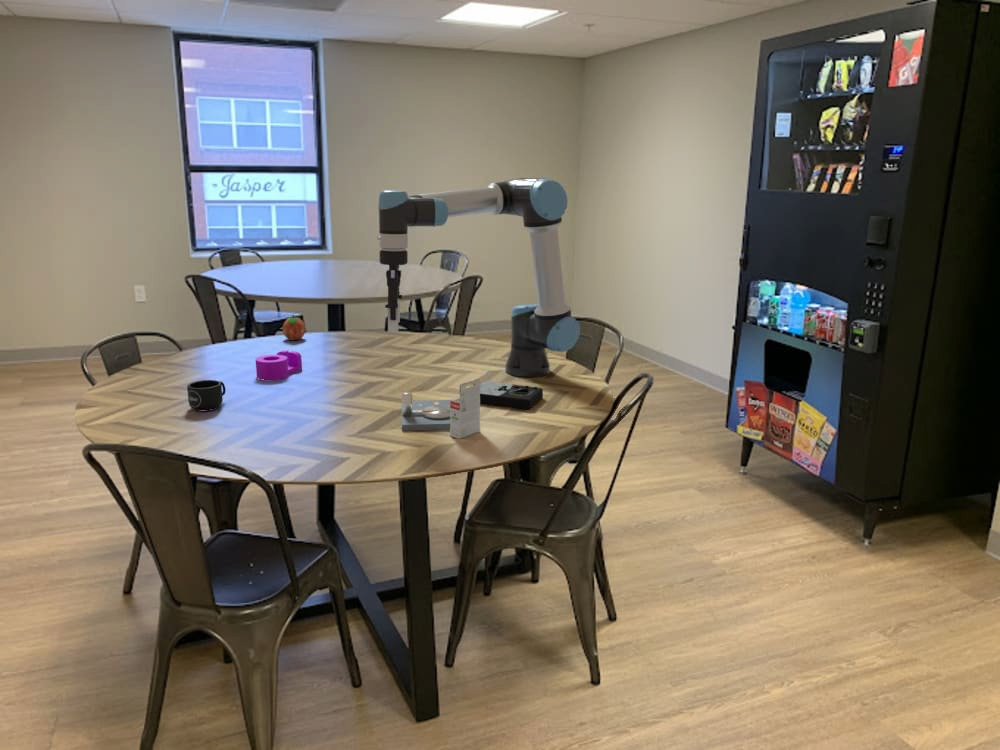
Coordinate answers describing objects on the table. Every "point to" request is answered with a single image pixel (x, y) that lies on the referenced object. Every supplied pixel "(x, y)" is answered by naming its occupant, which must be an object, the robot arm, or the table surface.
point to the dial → (427, 412)
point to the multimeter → (509, 395)
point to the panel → (421, 421)
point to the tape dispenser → (278, 365)
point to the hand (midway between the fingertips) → (394, 326)
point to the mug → (205, 394)
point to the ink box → (465, 411)
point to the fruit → (294, 328)
